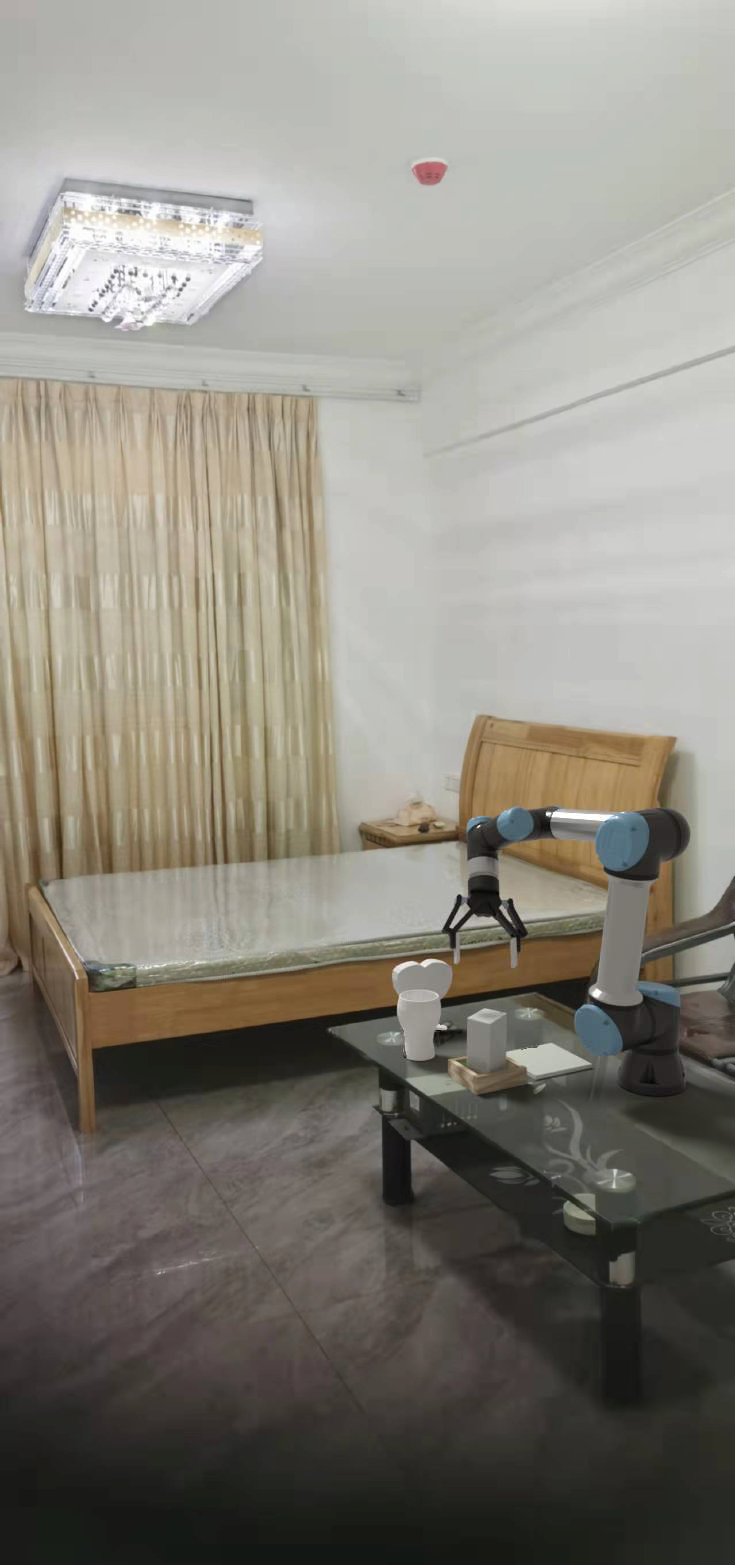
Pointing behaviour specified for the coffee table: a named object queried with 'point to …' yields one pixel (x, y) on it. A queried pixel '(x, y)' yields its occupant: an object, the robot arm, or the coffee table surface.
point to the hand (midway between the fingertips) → (485, 964)
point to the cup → (419, 1022)
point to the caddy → (487, 1076)
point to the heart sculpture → (423, 978)
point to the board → (548, 1061)
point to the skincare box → (486, 1041)
